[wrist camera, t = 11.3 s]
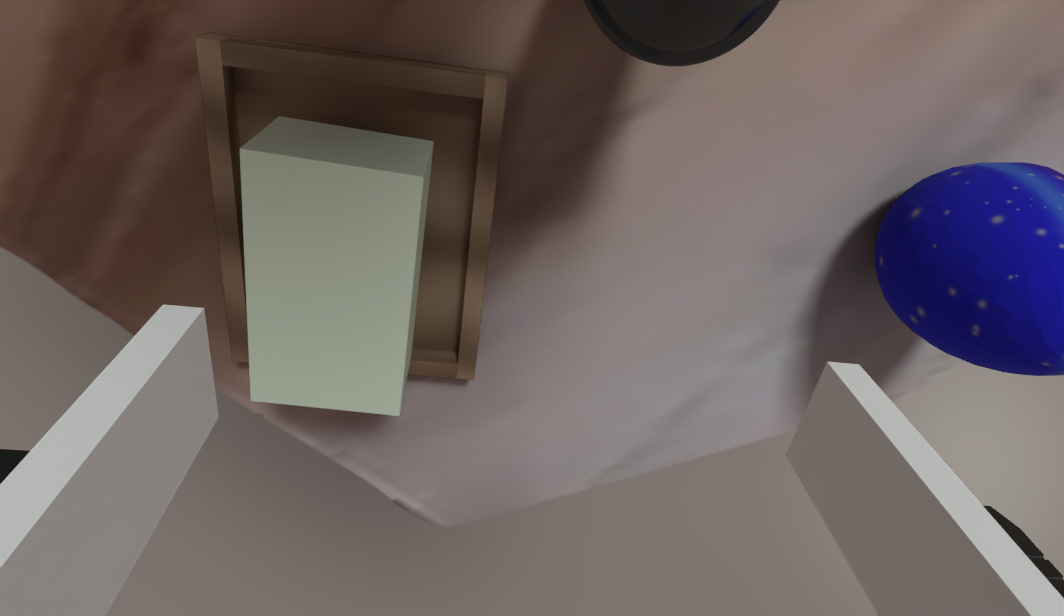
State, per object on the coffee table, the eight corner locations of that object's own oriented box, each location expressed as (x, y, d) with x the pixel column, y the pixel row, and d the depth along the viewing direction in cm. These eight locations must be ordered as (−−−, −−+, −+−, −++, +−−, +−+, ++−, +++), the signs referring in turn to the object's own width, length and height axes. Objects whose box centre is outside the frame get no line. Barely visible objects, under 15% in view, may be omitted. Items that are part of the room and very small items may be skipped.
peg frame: (209, 32, 34) (182, 41, 31) (507, 72, 36) (508, 84, 33) (242, 344, 44) (223, 374, 41) (474, 363, 46) (473, 393, 43)
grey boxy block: (411, 355, 41) (399, 416, 36) (282, 340, 40) (250, 400, 34) (433, 141, 34) (423, 176, 29) (278, 116, 33) (239, 148, 28)
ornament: (967, 286, 45) (1163, 426, 32) (837, 304, 45) (979, 451, 32) (1006, 130, 39) (1262, 223, 26) (858, 151, 39) (1040, 253, 26)
